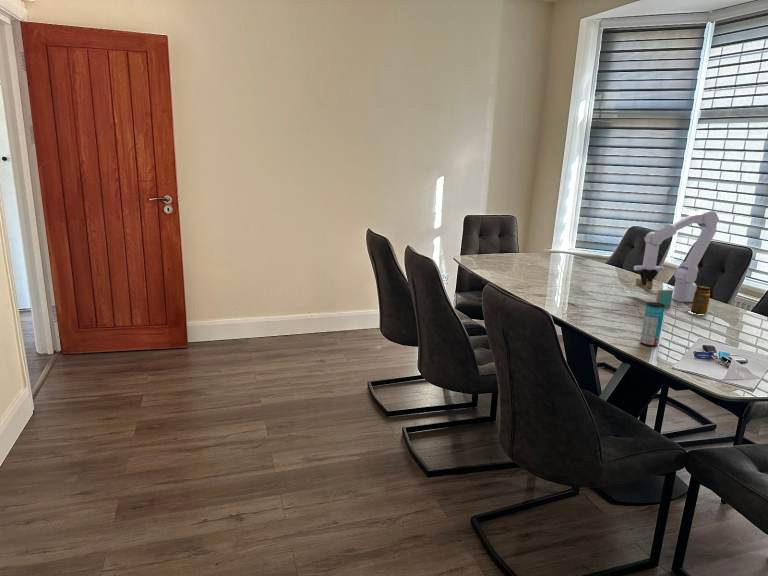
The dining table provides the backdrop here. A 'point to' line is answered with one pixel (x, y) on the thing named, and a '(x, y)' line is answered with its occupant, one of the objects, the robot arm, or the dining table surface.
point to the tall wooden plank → (646, 286)
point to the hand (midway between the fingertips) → (646, 284)
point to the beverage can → (652, 324)
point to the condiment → (700, 300)
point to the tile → (664, 297)
